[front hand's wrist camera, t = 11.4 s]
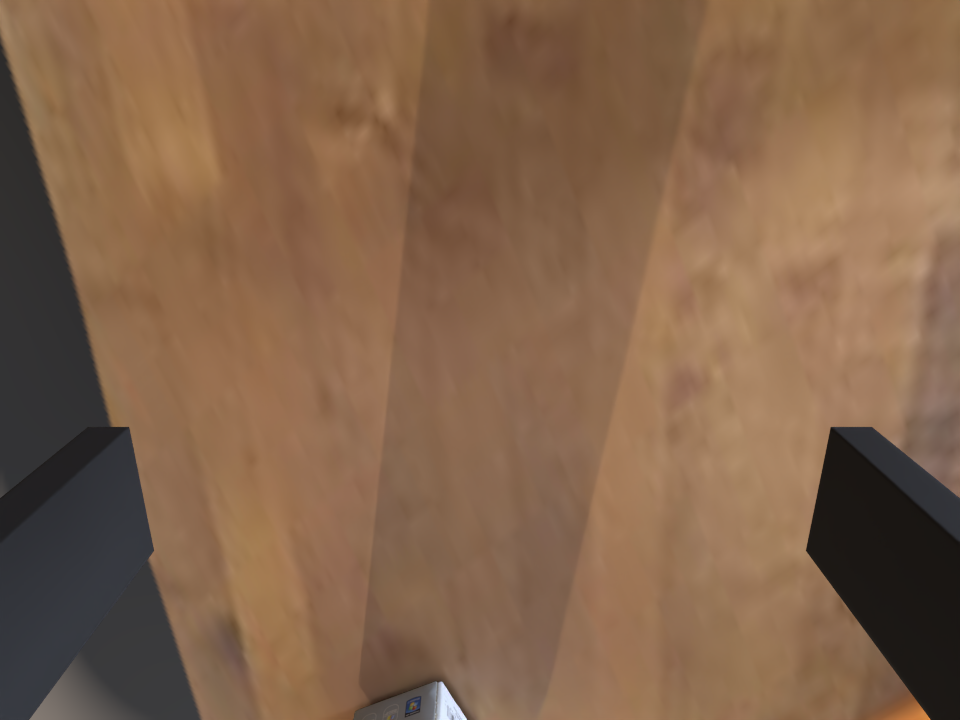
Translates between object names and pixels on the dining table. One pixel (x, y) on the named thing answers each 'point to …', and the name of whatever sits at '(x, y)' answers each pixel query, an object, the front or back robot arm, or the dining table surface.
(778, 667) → the dining table surface
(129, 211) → the dining table surface
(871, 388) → the dining table surface
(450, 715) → the hard drive box
